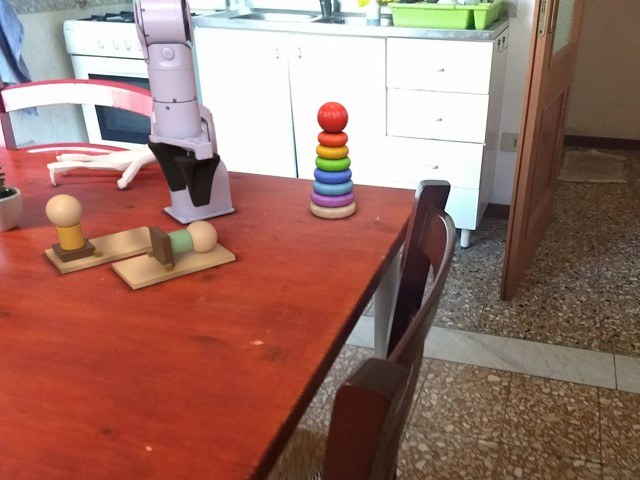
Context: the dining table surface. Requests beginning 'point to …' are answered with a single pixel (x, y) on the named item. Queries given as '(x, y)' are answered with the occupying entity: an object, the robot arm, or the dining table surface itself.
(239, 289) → the dining table surface
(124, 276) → the thin cream rectangular board
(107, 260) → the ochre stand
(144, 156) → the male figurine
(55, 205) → the ochre toy
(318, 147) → the stacking toy
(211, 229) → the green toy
